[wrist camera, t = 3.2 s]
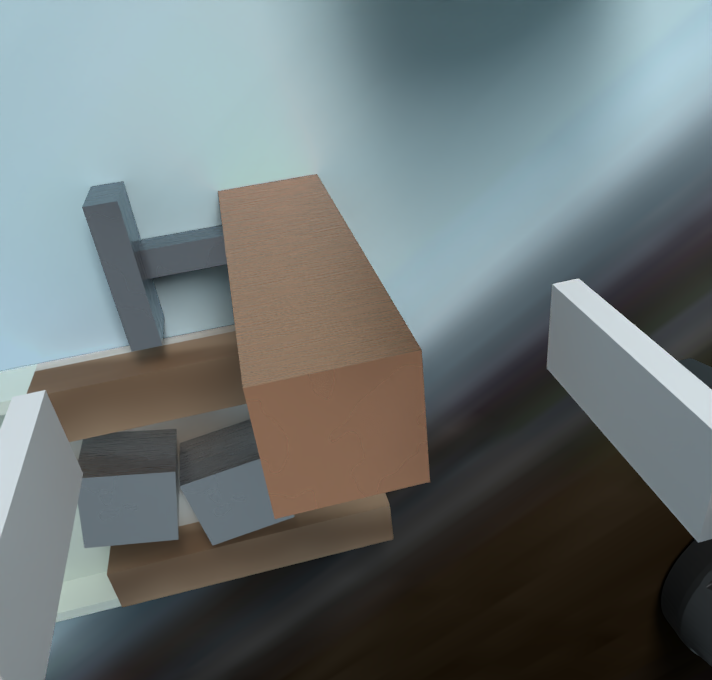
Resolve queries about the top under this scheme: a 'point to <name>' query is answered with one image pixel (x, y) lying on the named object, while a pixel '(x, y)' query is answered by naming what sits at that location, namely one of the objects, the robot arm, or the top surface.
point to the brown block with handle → (289, 336)
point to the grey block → (129, 488)
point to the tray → (84, 565)
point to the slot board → (191, 419)
